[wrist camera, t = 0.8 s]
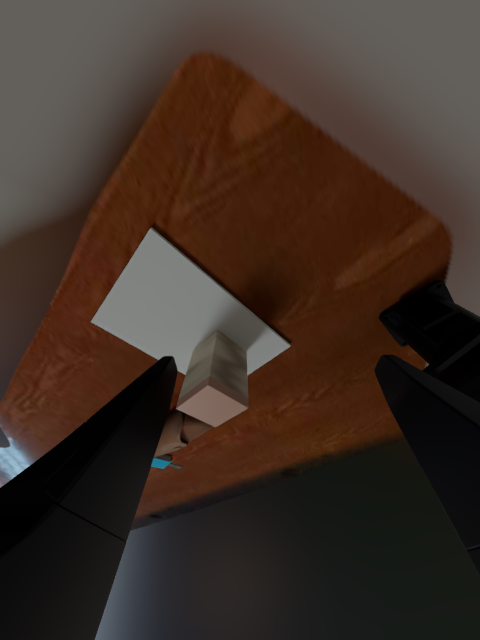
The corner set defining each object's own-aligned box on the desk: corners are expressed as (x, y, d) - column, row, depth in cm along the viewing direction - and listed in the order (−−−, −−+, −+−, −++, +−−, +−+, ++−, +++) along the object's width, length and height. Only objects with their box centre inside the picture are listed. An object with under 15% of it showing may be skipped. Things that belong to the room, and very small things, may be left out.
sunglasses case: (169, 452, 43) (144, 480, 37) (151, 425, 44) (123, 449, 38) (222, 419, 35) (202, 448, 29) (198, 388, 36) (174, 410, 30)
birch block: (246, 350, 25) (248, 408, 19) (221, 369, 27) (215, 427, 21) (217, 329, 23) (207, 385, 17) (192, 351, 25) (175, 408, 19)
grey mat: (289, 344, 25) (290, 346, 25) (220, 392, 31) (219, 394, 31) (152, 227, 18) (150, 228, 17) (92, 319, 23) (90, 321, 23)
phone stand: (90, 453, 45) (86, 462, 44) (103, 433, 40) (98, 441, 38) (170, 473, 52) (169, 480, 50) (191, 457, 46) (189, 465, 45)
